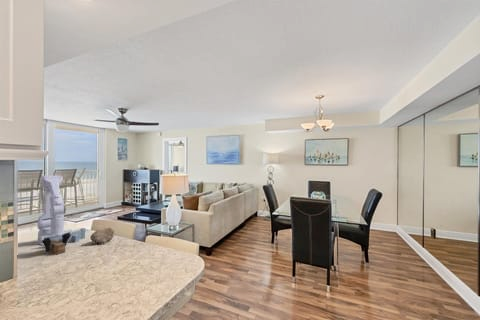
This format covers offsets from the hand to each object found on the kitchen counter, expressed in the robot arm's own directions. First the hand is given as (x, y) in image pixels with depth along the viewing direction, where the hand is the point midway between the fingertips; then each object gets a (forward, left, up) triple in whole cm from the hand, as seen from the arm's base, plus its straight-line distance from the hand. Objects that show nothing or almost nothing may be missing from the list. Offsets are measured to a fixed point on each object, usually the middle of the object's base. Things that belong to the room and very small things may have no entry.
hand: (56, 249), depth 122 cm
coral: (+8, +22, -2) cm, 24 cm away
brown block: (0, 0, -1) cm, 1 cm away
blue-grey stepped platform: (-9, +11, -1) cm, 15 cm away
